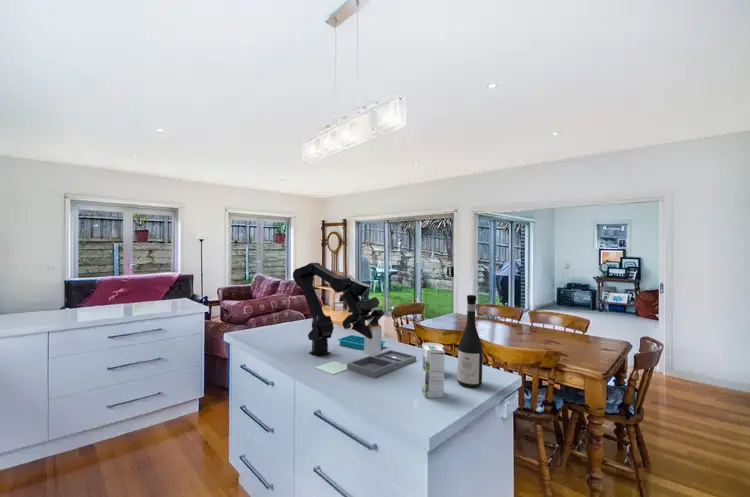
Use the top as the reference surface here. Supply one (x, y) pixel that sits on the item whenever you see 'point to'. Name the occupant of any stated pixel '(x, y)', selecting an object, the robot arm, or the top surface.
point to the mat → (332, 367)
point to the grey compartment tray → (380, 363)
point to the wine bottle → (470, 350)
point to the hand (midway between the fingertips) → (375, 337)
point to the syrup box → (433, 371)
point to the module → (373, 340)
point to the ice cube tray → (354, 342)
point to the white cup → (430, 344)
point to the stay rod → (393, 358)
